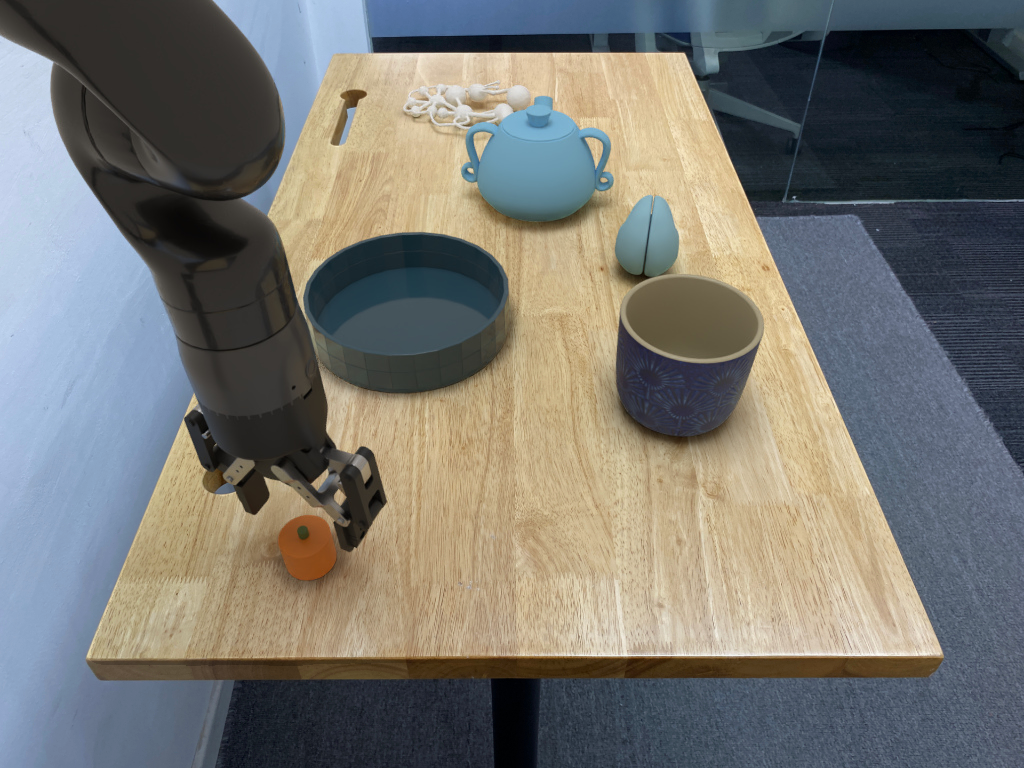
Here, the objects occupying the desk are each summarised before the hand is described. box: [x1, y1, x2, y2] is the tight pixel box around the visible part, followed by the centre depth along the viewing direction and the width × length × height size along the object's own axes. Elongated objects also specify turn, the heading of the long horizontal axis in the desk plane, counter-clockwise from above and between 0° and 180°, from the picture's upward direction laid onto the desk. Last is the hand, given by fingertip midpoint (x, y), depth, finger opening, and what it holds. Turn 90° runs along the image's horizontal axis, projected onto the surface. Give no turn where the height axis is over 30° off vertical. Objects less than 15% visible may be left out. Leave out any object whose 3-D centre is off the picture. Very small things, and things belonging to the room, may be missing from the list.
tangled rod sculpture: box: [402, 79, 532, 131], centre depth 119 cm, size 19×14×4 cm
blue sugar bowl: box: [460, 95, 615, 223], centre depth 99 cm, size 20×20×13 cm
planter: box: [615, 273, 765, 437], centre depth 71 cm, size 12×12×11 cm
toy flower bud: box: [614, 194, 680, 278], centre depth 89 cm, size 7×9×12 cm
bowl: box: [302, 231, 510, 394], centre depth 81 cm, size 21×21×5 cm
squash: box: [277, 514, 338, 581], centre depth 60 cm, size 4×4×4 cm
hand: (305, 523), depth 59 cm, fingers open, 8 cm apart
